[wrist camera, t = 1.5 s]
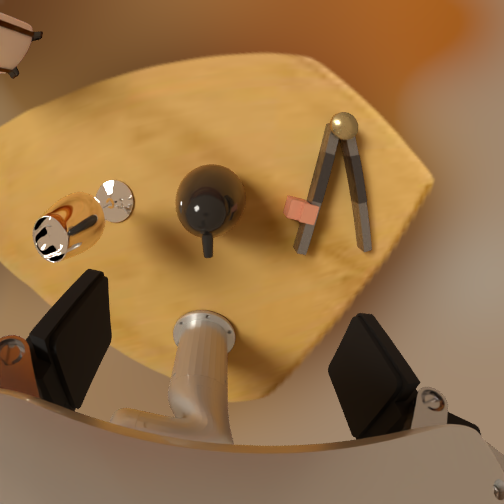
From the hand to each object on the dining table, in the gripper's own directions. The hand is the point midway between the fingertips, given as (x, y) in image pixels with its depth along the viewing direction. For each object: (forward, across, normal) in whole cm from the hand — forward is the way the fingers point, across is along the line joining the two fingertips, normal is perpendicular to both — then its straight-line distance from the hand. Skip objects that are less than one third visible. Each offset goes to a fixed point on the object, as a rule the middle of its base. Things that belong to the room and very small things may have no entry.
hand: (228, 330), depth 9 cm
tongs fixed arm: (+36, -14, -4) cm, 39 cm away
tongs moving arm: (+36, -20, -5) cm, 42 cm away
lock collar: (+36, -11, +1) cm, 38 cm away
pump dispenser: (+36, +3, +2) cm, 37 cm away
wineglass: (+36, +20, +6) cm, 42 cm away
